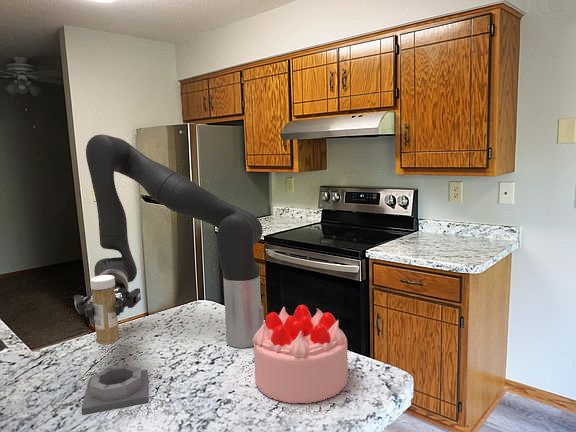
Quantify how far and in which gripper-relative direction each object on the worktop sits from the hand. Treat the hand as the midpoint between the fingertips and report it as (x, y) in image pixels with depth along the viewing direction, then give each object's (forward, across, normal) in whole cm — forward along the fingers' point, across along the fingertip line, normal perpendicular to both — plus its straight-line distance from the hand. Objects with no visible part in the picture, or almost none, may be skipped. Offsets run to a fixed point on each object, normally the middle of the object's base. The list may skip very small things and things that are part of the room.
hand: (104, 312), depth 89 cm
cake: (+7, +38, +18) cm, 43 cm away
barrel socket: (-1, +1, +18) cm, 18 cm away
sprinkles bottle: (-3, 0, +7) cm, 8 cm away
